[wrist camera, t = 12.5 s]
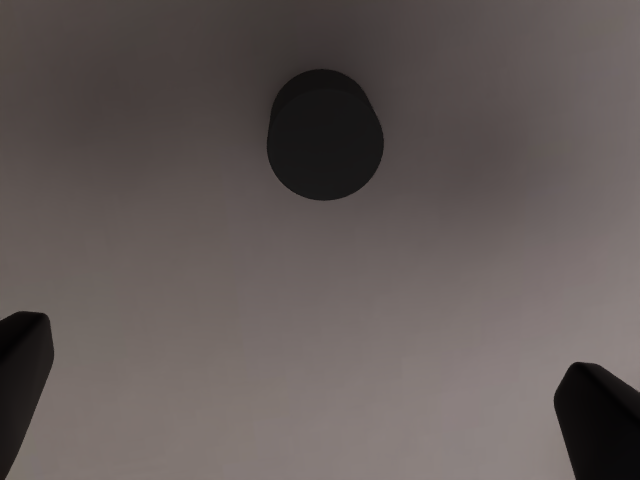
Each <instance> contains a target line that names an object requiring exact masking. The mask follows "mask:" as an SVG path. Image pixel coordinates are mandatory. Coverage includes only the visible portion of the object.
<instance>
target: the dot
mask: <svg viewBox="0 0 640 480" xmlns="http://www.w3.org/2000/svg"><path fill="white" fill-rule="evenodd" d="M383 148H384V139H383V132H382V128H381V125H380V122H379V120H378V118H377V116H376V114H375V112H374V110H373V108H372V106H371V104H370V102H369V100H368V98H367V96H366V94H365V93H364V91H363V90H362V89H361V87H360V86H359V85H358V84H357V83H356V82H355V81H354V80H352V79H351V78H350V77H348V76H346V75H344V74H342V73H339V72H337V71H332V70H324V69H320V70H312V71H307V72H305V73H302V74H300V75H298V76H296V77H294V78H293V79H291V80H290V81H289V82H288V83H287V84H285V85H284V87H283V88H282V89H281V90H280V92H279V93H278V95H277V96H276V98H275V101H274V103H273V106H272V110H271V116H270V123H269V130H268V137H267V154H268V158H269V162H270V165H271V167H272V169H273V171H274V173H275V175H276V176H277V178H278V179H279V180H280V181H281V182H282V183H283V184H284V185H285V186H286V187H287V188H288V189H290V190H291V191H293V192H294V193H296V194H298V195H300V196H303V197H305V198H309V199H313V200H323V201H326V200H335V199H340V198H343V197H346V196H348V195H350V194H353V193H354V192H356V191H358V190H359V189H360V188H362V187H363V186H364V185H365V184H366V183H367V182H368V181H369V180H370V179H371V178H372V176H373V175H374V173H375V172H376V170H377V168H378V166H379V164H380V162H381V158H382V155H383Z"/></svg>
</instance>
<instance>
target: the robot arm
mask: <svg viewBox="0 0 640 480" xmlns="http://www.w3.org/2000/svg"><path fill="white" fill-rule="evenodd" d="M53 360H54V347H53V340H52V333H51V326H50V320H49V318H48V316H47V315H46V314H44V313H39V312H28V311H19V312H16V313H14V314H12V315H10V316H8V317H7V318H5V319H3V320H1V321H0V480H5V478H6V476H7V474H8V472H9V471H10V469H11V466H12V464H13V462H14V460H15V458H16V456H17V454H18V452H19V449H20V447H21V444H22V442H23V440H24V437H25V434H26V432H27V429H28V427H29V424H30V422H31V419H32V416H33V414H34V411H35V409H36V406H37V404H38V401H39V398H40V396H41V393H42V391H43V388H44V386H45V383H46V380H47V378H48V375H49V373H50V370H51V367H52V364H53ZM554 408H555V411H556V414H557V418H558V421H559V424H560V428H561V431H562V435H563V438H564V441H565V445H566V448H567V451H568V455H569V458H570V461H571V465H572V468H573V471H574V475H575V478H576V480H640V393H639V392H638V391H636V390H635V389H634V388H632V387H631V386H629V385H628V384H626V383H625V382H623V381H622V380H620V379H619V378H618V377H616V376H615V375H613V374H612V373H610V372H609V371H607V370H606V369H604V368H603V367H602V366H600V365H598V364H594V363H584V362H575V363H573V364H572V365H570V367H569V368H568V370H567V372H566V374H565V376H564V377H563V379H562V381H561V383H560V385H559V386H558V388H557V390H556V392H555V395H554Z"/></svg>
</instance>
